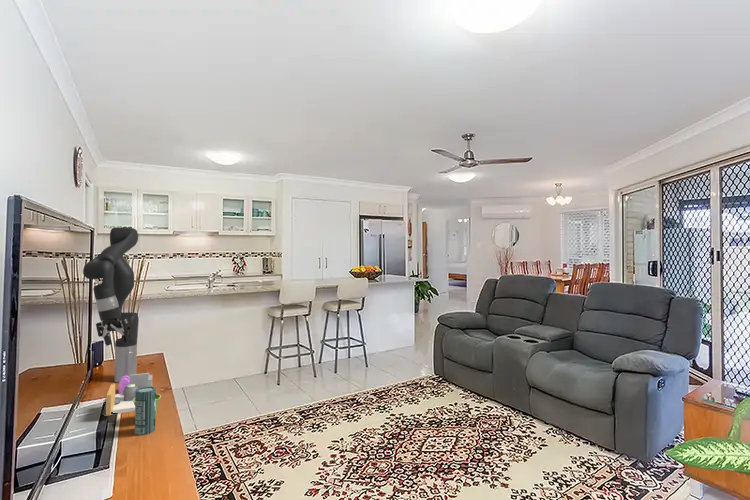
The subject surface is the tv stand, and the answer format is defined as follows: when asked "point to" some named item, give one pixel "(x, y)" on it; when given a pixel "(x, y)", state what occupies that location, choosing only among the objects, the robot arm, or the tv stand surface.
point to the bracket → (124, 383)
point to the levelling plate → (123, 405)
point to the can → (145, 410)
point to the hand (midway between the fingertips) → (117, 344)
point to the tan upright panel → (111, 400)
